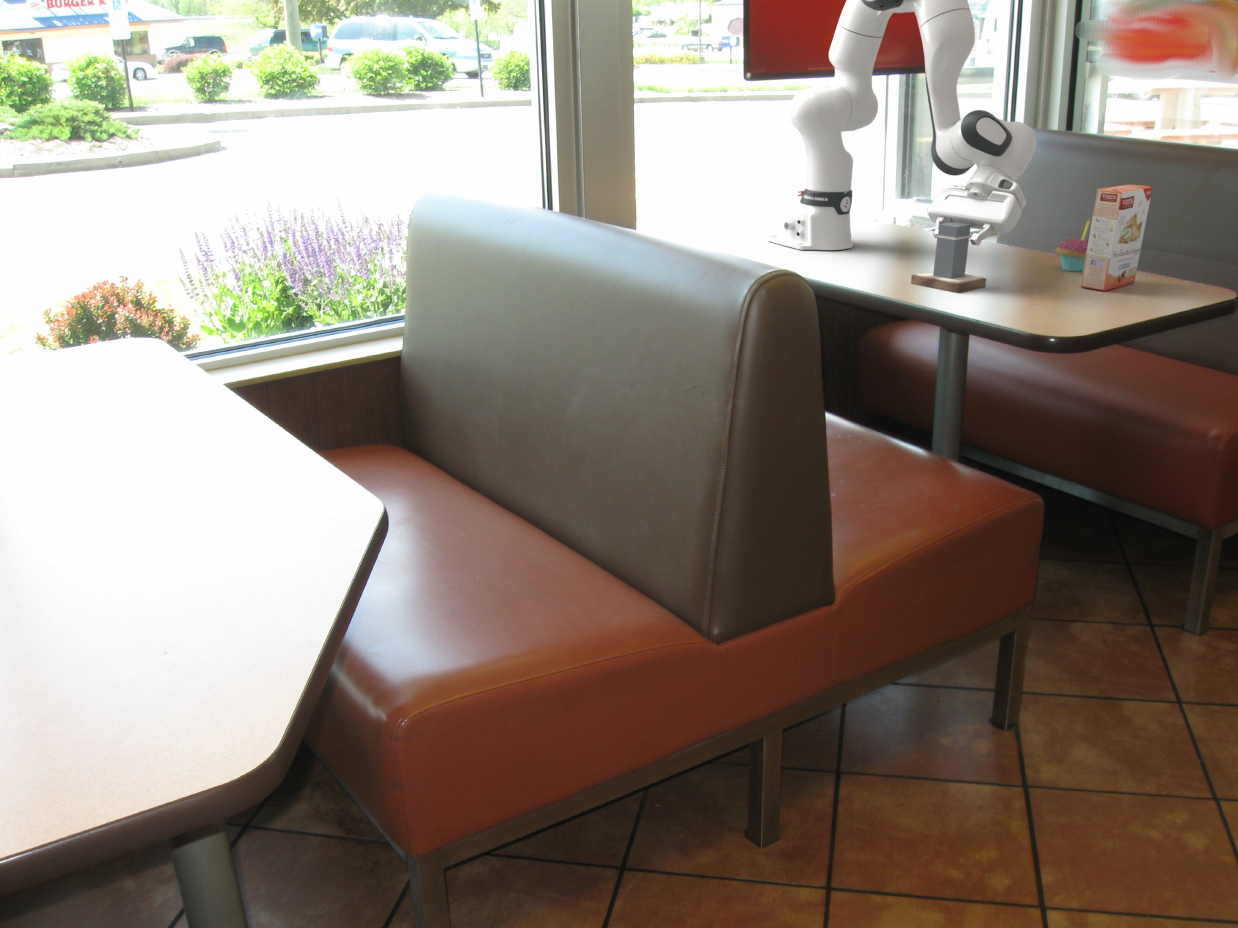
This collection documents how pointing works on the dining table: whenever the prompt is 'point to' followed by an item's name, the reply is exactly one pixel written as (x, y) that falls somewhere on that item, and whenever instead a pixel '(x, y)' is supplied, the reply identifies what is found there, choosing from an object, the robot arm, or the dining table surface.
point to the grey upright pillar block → (951, 250)
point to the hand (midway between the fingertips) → (954, 240)
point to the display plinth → (949, 282)
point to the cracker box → (1116, 236)
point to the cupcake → (1073, 252)
